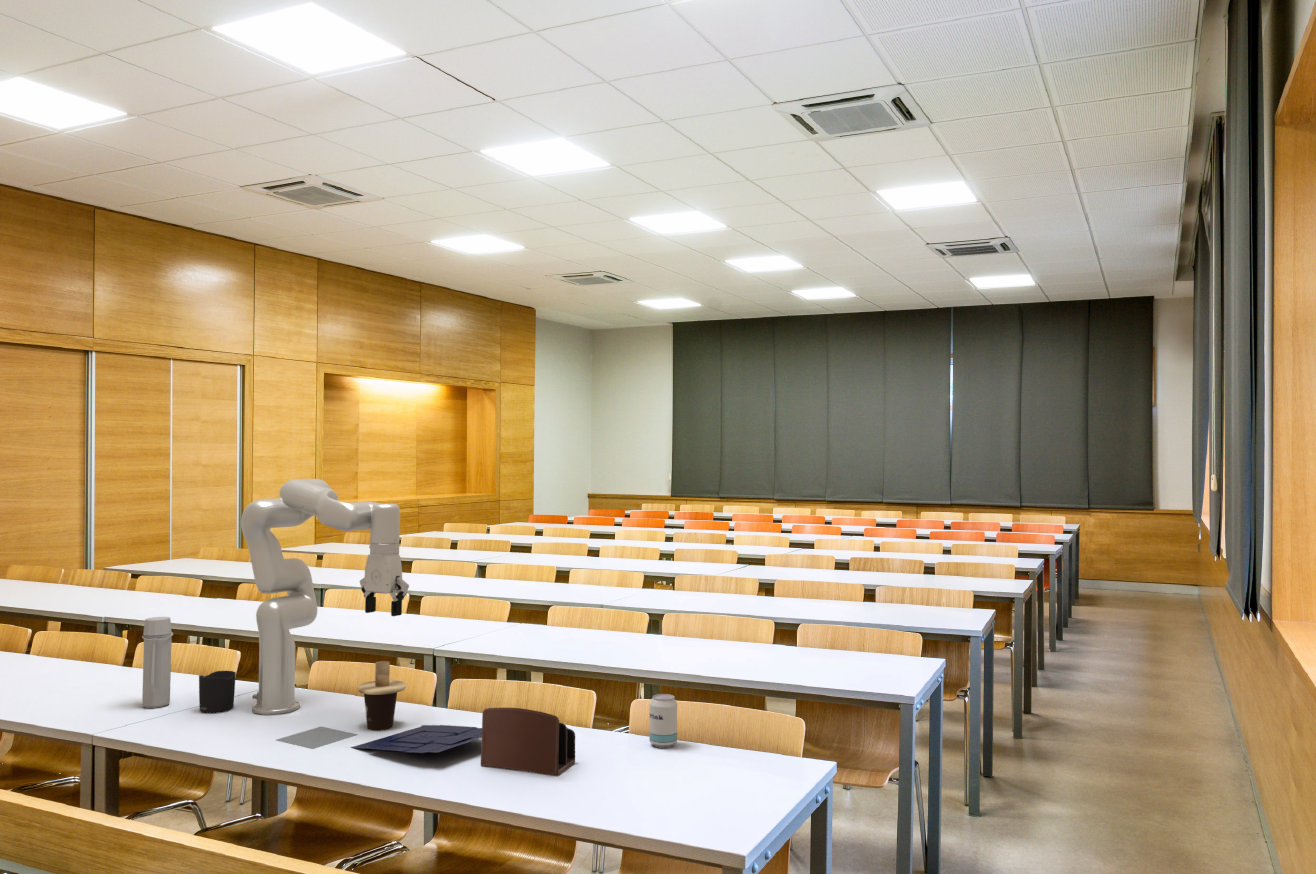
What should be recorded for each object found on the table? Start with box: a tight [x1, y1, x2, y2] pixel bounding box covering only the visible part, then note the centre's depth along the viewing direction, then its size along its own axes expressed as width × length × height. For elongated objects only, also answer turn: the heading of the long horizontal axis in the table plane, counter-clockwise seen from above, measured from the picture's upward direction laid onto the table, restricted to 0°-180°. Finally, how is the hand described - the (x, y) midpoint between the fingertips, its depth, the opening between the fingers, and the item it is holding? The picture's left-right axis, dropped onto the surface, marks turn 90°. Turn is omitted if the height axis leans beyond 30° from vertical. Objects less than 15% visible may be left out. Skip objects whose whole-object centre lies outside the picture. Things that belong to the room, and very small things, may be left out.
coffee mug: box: [363, 692, 398, 732], centre depth 241 cm, size 12×9×10 cm
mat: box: [275, 726, 359, 750], centre depth 230 cm, size 14×14×1 cm
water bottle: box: [141, 616, 174, 709], centre depth 260 cm, size 9×8×25 cm
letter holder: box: [480, 707, 576, 777], centre depth 211 cm, size 10×20×14 cm, turn 70°
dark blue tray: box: [350, 724, 482, 754], centre depth 224 cm, size 24×30×4 cm
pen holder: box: [198, 670, 237, 714], centre depth 257 cm, size 9×9×10 cm
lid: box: [358, 660, 407, 695], centre depth 241 cm, size 12×12×7 cm
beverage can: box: [648, 693, 678, 749], centre depth 227 cm, size 7×7×12 cm
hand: (383, 613), depth 242 cm, fingers open, 9 cm apart
